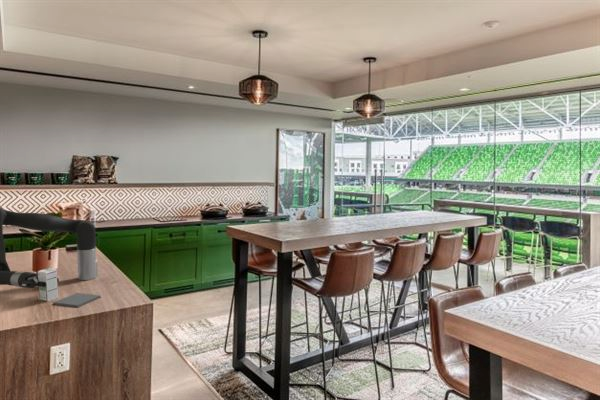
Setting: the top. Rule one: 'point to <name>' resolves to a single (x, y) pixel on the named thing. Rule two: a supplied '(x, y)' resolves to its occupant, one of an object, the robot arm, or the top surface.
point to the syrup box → (48, 284)
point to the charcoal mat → (77, 300)
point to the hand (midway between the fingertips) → (51, 282)
